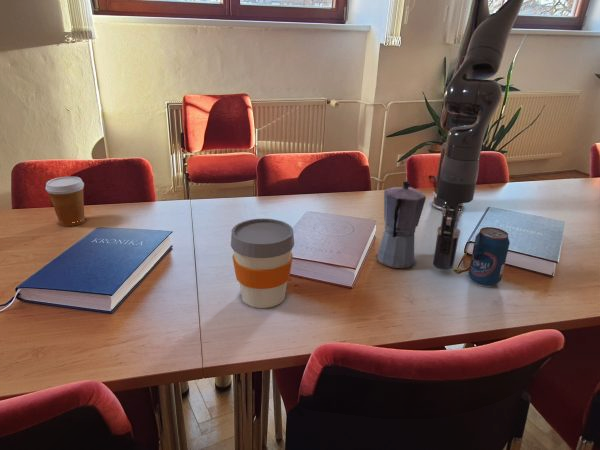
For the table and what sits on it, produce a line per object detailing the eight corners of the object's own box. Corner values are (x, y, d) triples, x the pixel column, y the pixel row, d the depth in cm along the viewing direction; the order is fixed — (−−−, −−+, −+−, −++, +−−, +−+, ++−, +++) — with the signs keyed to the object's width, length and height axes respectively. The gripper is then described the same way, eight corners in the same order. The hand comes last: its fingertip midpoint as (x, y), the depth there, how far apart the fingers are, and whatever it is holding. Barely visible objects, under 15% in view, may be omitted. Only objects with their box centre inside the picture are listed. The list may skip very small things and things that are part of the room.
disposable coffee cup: (45, 225, 122) (35, 184, 117) (73, 213, 130) (65, 174, 125) (71, 231, 119) (62, 189, 114) (98, 218, 127) (91, 178, 122)
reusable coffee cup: (270, 320, 85) (270, 251, 79) (220, 300, 91) (216, 233, 85) (304, 291, 94) (306, 227, 88) (257, 274, 100) (256, 213, 94)
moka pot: (418, 251, 113) (430, 176, 105) (412, 280, 99) (424, 197, 91) (381, 245, 115) (389, 171, 107) (370, 273, 102) (378, 191, 94)
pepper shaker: (433, 258, 106) (439, 224, 102) (454, 262, 104) (461, 227, 100) (430, 267, 102) (436, 231, 98) (452, 272, 100) (459, 236, 96)
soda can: (462, 280, 100) (471, 232, 95) (474, 269, 105) (484, 223, 100) (492, 292, 96) (504, 242, 91) (504, 280, 100) (516, 232, 96)
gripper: (474, 189, 87) (459, 265, 94) (478, 170, 99) (465, 239, 106) (435, 184, 89) (423, 258, 96) (444, 166, 101) (433, 233, 108)
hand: (445, 248), depth 101 cm, fingers closed on pepper shaker, 4 cm apart
